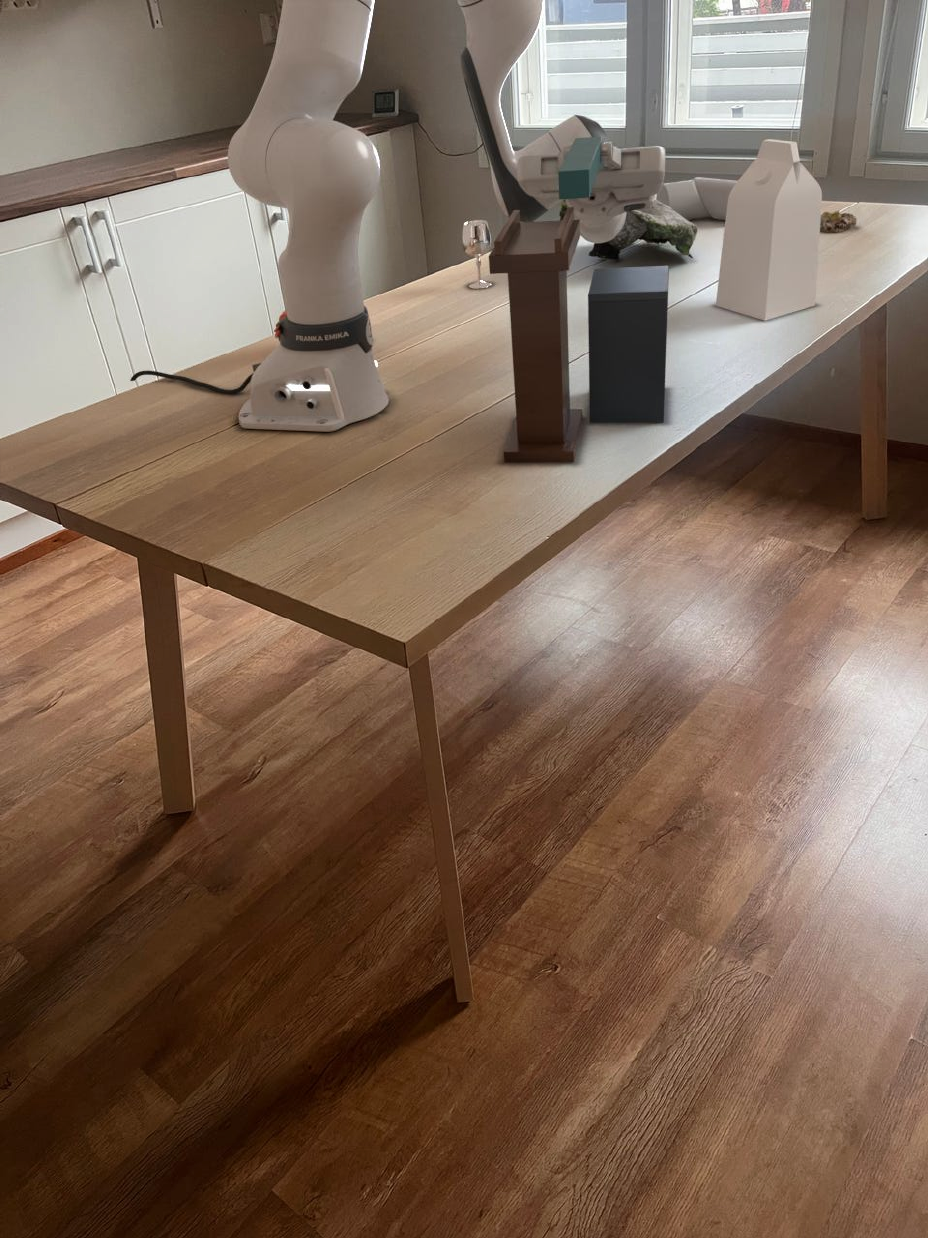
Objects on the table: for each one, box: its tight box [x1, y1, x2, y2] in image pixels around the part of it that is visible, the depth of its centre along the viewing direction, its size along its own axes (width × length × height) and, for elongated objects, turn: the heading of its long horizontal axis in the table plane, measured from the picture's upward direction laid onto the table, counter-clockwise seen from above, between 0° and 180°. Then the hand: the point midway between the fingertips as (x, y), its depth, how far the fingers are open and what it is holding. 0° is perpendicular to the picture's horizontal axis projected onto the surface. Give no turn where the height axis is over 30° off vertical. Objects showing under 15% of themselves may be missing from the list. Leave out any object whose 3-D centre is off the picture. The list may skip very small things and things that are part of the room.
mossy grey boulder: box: [558, 199, 698, 261], centre depth 196 cm, size 29×30×15 cm
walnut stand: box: [488, 207, 584, 463], centre depth 120 cm, size 16×9×28 cm, turn 169°
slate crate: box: [587, 265, 670, 424], centre depth 130 cm, size 12×10×18 cm
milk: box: [715, 138, 823, 322], centre depth 159 cm, size 12×12×26 cm
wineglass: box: [461, 219, 492, 290], centre depth 189 cm, size 6×6×12 cm
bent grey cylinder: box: [655, 176, 738, 221], centre depth 219 cm, size 18×11×20 cm
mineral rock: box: [820, 210, 858, 233], centre depth 205 cm, size 11×4×8 cm
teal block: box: [558, 137, 602, 199], centre depth 118 cm, size 23×4×3 cm, turn 170°
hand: (587, 149), depth 125 cm, fingers closed on teal block, 3 cm apart
